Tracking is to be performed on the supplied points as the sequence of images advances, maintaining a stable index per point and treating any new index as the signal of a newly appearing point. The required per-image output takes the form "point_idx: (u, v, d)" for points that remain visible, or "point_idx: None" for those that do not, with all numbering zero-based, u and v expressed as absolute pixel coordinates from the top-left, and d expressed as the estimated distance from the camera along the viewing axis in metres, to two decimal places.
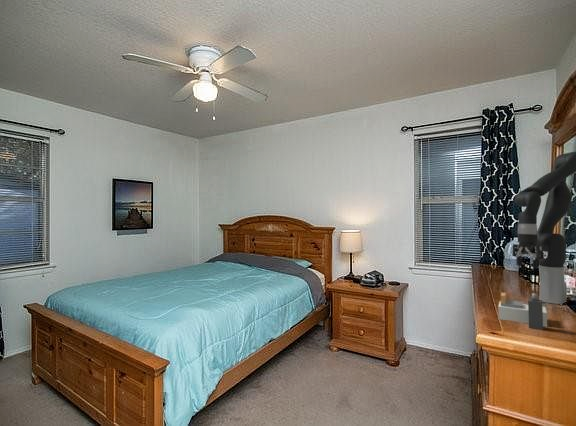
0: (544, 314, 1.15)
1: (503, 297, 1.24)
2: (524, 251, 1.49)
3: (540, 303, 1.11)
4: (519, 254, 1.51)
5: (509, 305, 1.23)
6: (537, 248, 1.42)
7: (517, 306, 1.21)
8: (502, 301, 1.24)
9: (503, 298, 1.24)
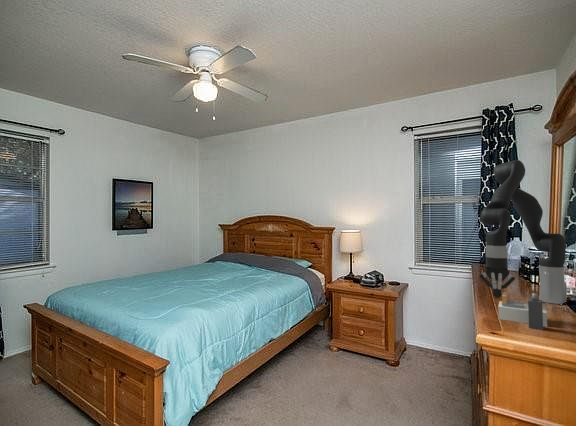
0: (544, 314, 1.15)
1: (504, 297, 1.24)
2: None
3: (540, 303, 1.11)
4: None
5: (510, 305, 1.23)
6: None
7: (518, 306, 1.21)
8: (503, 301, 1.24)
9: (504, 298, 1.24)
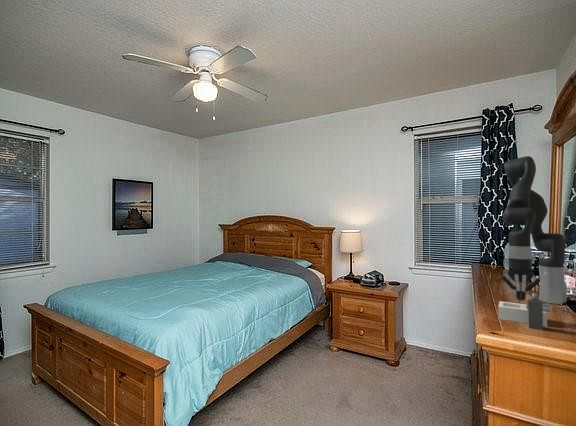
0: (544, 314, 1.15)
1: None
2: None
3: (540, 303, 1.11)
4: None
5: None
6: None
7: (544, 309, 1.16)
8: None
9: None
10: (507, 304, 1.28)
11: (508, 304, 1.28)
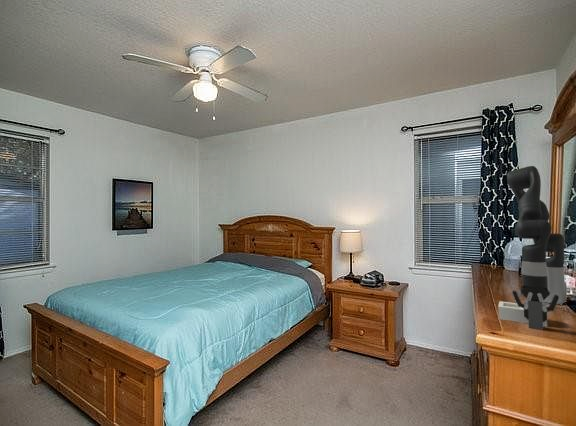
0: None
1: None
2: None
3: (540, 303, 1.11)
4: None
5: None
6: None
7: None
8: None
9: None
10: (507, 304, 1.28)
11: (508, 304, 1.28)
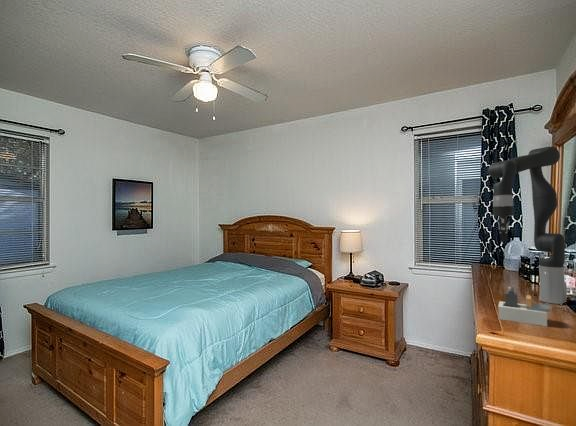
0: (544, 314, 1.15)
1: (529, 300, 1.19)
2: (506, 225, 1.37)
3: (505, 294, 1.25)
4: None
5: (536, 308, 1.18)
6: None
7: (544, 309, 1.16)
8: (528, 304, 1.19)
9: (529, 301, 1.19)
10: None
11: None
